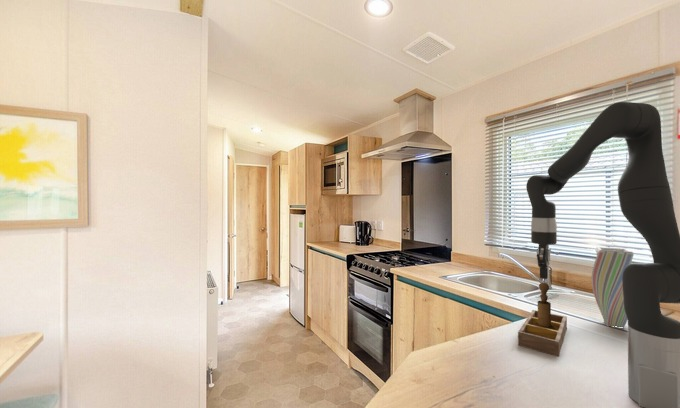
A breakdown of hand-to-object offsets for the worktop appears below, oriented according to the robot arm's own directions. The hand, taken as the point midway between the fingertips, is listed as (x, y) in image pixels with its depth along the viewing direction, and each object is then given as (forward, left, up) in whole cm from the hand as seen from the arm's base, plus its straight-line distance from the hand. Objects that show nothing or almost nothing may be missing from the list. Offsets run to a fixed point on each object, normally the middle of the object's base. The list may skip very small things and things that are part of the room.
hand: (543, 278), depth 105 cm
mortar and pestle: (0, 0, -20) cm, 20 cm away
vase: (+30, -19, -21) cm, 41 cm away
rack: (0, 0, -21) cm, 21 cm away
